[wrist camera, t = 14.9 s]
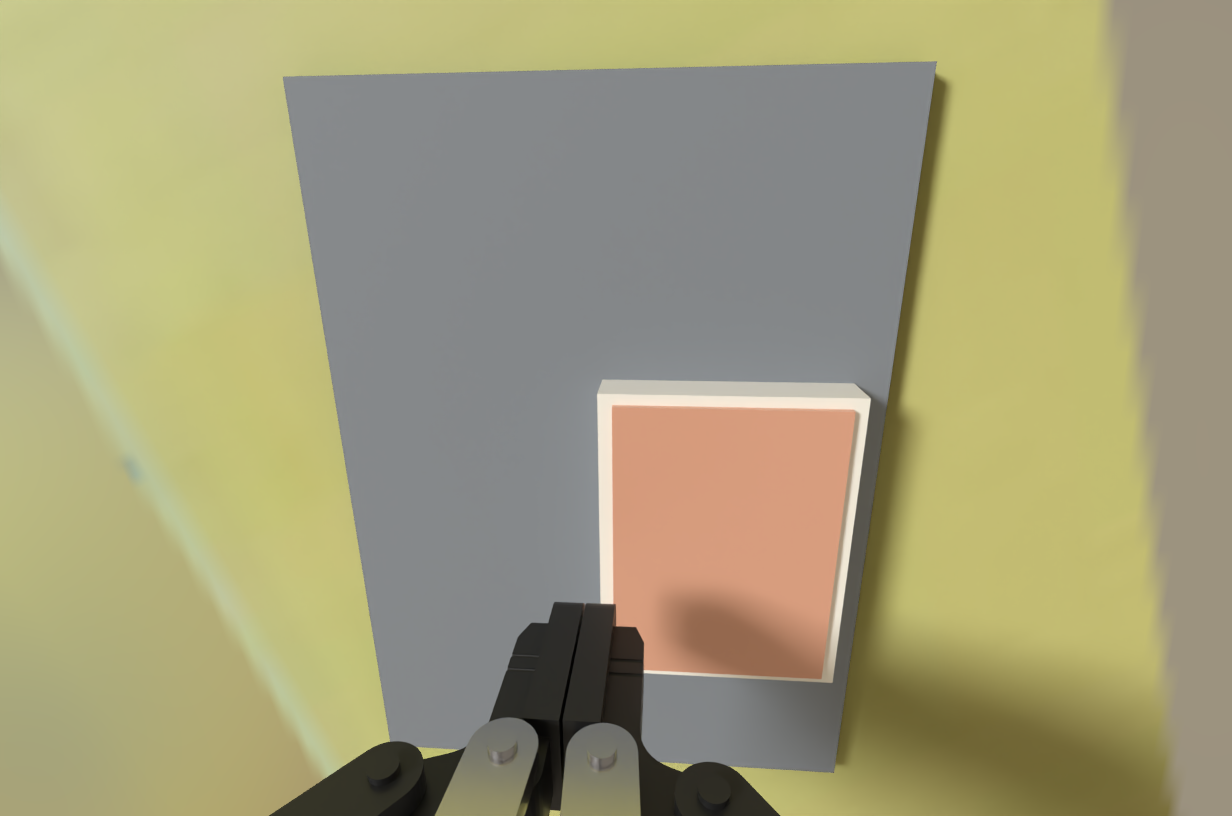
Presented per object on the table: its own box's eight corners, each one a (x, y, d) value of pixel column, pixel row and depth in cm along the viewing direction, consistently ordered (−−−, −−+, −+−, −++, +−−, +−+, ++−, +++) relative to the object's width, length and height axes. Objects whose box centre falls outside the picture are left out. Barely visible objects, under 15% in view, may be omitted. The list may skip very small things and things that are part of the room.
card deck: (596, 396, 16) (873, 401, 15) (602, 379, 17) (854, 383, 17) (601, 675, 18) (834, 687, 18) (605, 640, 20) (820, 650, 19)
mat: (296, 81, 16) (282, 76, 15) (926, 67, 15) (936, 61, 14) (397, 731, 23) (390, 745, 22) (829, 757, 22) (833, 772, 21)
